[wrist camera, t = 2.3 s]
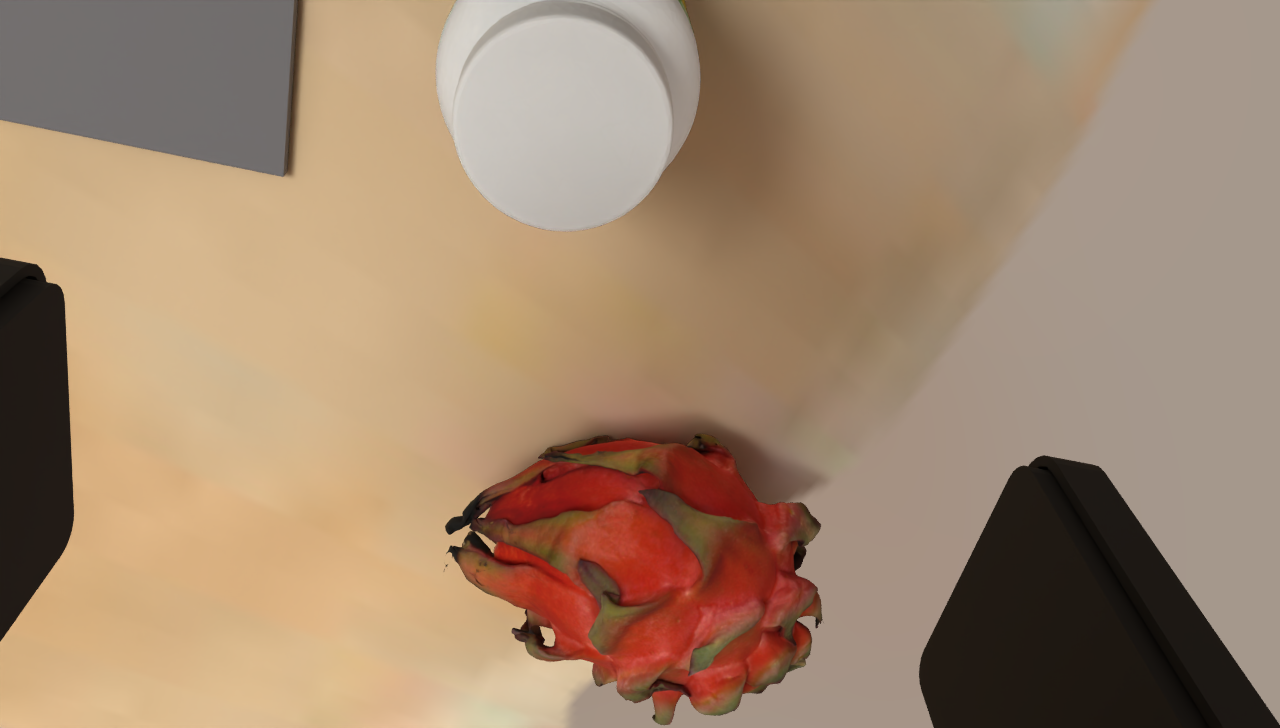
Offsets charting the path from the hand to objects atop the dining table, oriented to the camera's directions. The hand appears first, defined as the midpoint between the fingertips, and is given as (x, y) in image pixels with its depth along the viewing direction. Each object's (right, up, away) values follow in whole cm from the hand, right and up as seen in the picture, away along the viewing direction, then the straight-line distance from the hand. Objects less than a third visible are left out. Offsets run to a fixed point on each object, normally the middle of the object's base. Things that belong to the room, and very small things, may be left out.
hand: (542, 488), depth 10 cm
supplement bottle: (-1, +10, +17) cm, 20 cm away
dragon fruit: (+1, -3, +25) cm, 25 cm away
